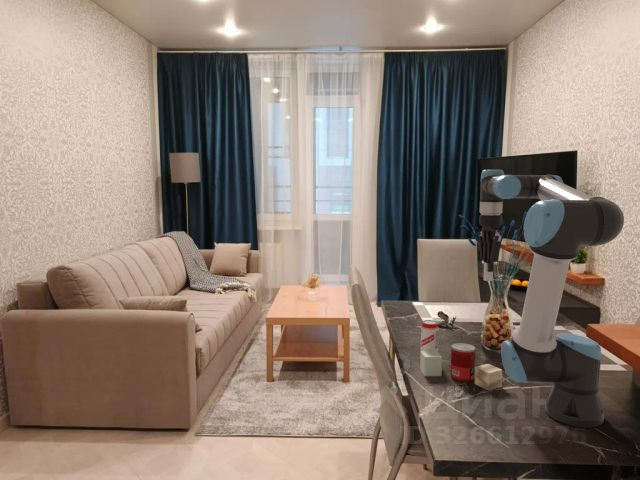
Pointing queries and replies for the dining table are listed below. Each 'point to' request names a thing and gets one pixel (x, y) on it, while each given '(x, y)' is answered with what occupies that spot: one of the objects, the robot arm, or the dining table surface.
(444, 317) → the snake figurine
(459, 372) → the canned food
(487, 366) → the birch block
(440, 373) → the sage block
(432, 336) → the beer can
